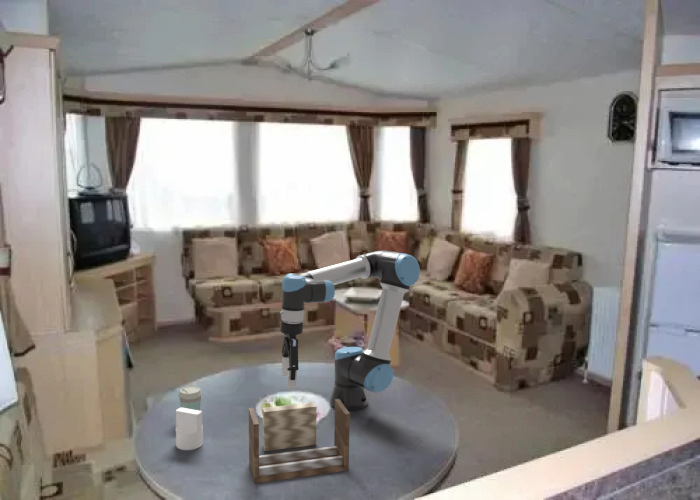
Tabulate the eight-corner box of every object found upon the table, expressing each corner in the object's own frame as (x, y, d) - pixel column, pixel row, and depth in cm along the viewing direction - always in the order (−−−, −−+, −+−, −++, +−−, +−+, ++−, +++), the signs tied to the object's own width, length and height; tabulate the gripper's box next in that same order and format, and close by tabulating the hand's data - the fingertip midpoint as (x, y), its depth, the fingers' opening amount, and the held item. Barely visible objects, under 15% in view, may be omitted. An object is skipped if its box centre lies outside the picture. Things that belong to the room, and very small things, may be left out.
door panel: (313, 440, 205) (314, 402, 203) (316, 444, 202) (316, 406, 200) (262, 446, 200) (262, 407, 198) (264, 451, 196) (264, 412, 194)
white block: (208, 440, 203) (207, 407, 202) (193, 452, 195) (192, 418, 193) (186, 436, 206) (185, 403, 204) (170, 447, 198) (169, 414, 196)
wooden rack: (338, 452, 196) (339, 398, 194) (348, 470, 185) (349, 413, 182) (249, 464, 188) (248, 408, 185) (254, 483, 176) (253, 424, 174)
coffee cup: (181, 415, 223) (180, 385, 221) (204, 415, 223) (203, 385, 222) (176, 425, 214) (176, 394, 212) (200, 424, 215) (199, 394, 213)
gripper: (276, 312, 208) (272, 370, 210) (286, 330, 184) (282, 395, 186) (296, 313, 210) (293, 370, 212) (310, 330, 186) (305, 394, 188)
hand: (288, 381), depth 199 cm, fingers open, 13 cm apart
